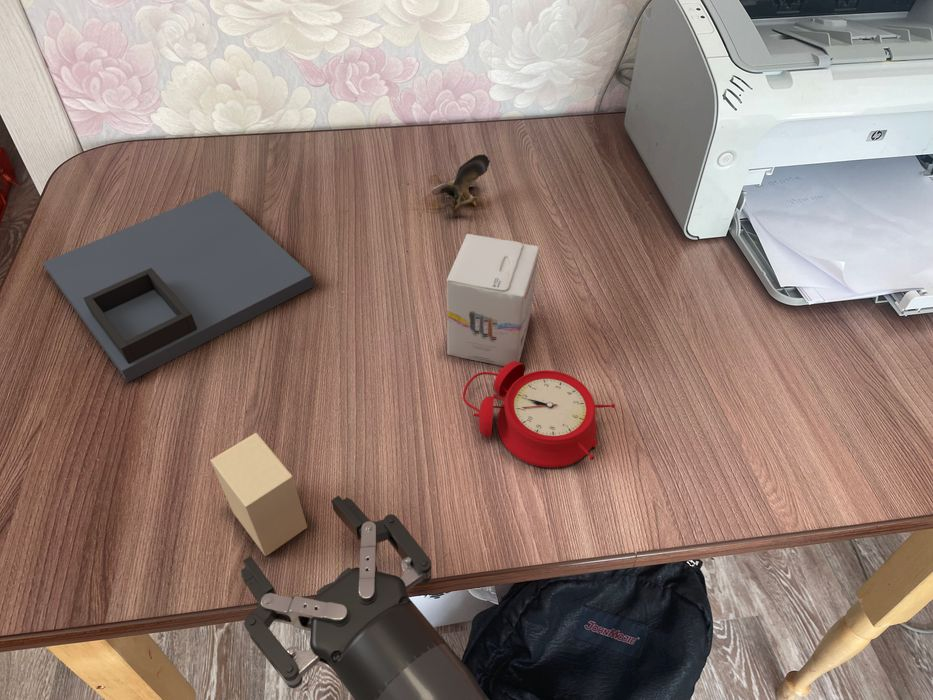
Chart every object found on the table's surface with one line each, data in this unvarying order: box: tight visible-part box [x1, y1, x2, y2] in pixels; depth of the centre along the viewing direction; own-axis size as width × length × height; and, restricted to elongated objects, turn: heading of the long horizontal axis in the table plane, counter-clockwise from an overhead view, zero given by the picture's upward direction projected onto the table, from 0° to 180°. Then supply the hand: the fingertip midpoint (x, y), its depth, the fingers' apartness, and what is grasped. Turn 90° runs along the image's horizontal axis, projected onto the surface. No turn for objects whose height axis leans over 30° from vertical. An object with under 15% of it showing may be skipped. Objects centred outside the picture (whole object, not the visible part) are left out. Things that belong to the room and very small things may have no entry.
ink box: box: [446, 233, 540, 367], centre depth 79 cm, size 9×9×12 cm
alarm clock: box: [462, 361, 616, 469], centre depth 74 cm, size 10×6×15 cm
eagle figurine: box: [431, 153, 491, 218], centre depth 99 cm, size 8×7×9 cm
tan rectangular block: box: [210, 432, 308, 557], centre depth 64 cm, size 4×6×9 cm
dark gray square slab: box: [42, 189, 314, 383], centre depth 87 cm, size 24×23×4 cm
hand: (293, 531), depth 60 cm, fingers open, 8 cm apart
